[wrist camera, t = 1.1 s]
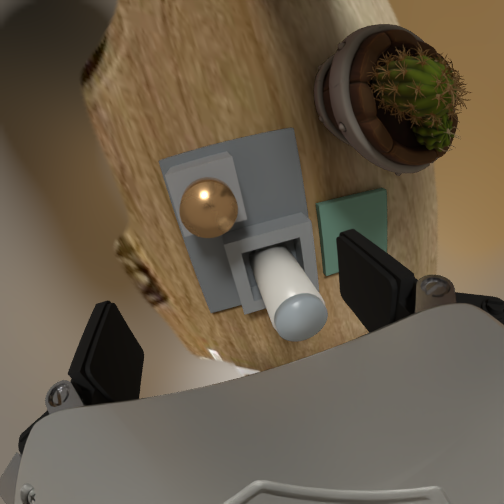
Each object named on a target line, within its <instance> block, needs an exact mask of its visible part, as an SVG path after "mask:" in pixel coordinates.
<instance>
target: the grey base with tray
mask: <svg viewBox="0 0 504 504" xmlns="http://www.w3.org/2000/svg"><path fill="white" fill-rule="evenodd" d="M159 164H160V167H161V170H162V174H163V177H164V180H165V184H166V187H167V190H168V193H169V197H170V200H171V203H172V206H173V209H174V212H175V215H176V218H177V221H178V224H179V227H180V230H181V233H182V236H183V239H184V242H185V245H186V248H187V251H188V253H189V256H190V259H191V262H192V265H193V267H194V270H195V273H196V276H197V278H198V281H199V284H200V286H201V289H202V292H203V294H204V297H205V299H206V302H207V305H208V307H209V310H210V312H211V313H213V312H217V311H221V310H224V309H228V308H232V307H235V306H239V305H242V308H243V311H244V314H248V313H252V312H255V311H258V310H262V309H265V308H266V306H265V303H264V301H263V298H262V296H261V293H260V290H259V288H258V285H257V282H256V280H255V277H254V274H253V272H252V269H251V266H250V262H249V258H250V254H251V252H252V250H255V249H259V248H263V247H266V246H270V245H273V244H277V243H281V242H283V243H284V244H285V245H286V246H287V247H288V249H289V250H290V252H291V253H292V255H293V256H294V257H295V259H296V260H297V262H298V263H299V265H300V266H301V268H302V269H303V270H304V272H305V273H306V275H307V276H308V278H309V279H310V281H311V282H312V284H313V285H314V287H315V288H316V289H317V291H318V292H319V285H318V275H317V266H316V257H315V248H314V240H313V232H312V224H311V220H310V219H309V218H308V211H307V204H306V197H305V191H304V185H303V178H302V172H301V166H300V161H299V155H298V149H297V144H296V139H295V133H294V128H286V129H280V130H275V131H270V132H265V133H260V134H255V135H250V136H246V137H241V138H237V139H233V140H229V141H225V142H221V143H217V144H213V145H209V146H205V147H202V148H198V149H195V150H191V151H188V152H184V153H181V154H178V155H174V156H171V157H168V158H165V159H162V160H160V161H159ZM204 177H212V178H217V179H219V180H221V181H223V182H225V183H226V184H227V185H228V186H229V187H230V189H231V190H232V192H233V194H234V196H235V198H236V201H237V205H238V214H237V218H236V221H235V223H234V224H233V226H232V227H231V228H230V229H229V230H228V231H227V232H226V233H224V234H222V235H220V236H218V237H214V238H202V237H198V236H196V235H194V234H192V233H191V232H189V231H188V230H187V229H186V228H185V226H184V225H183V223H182V221H181V218H180V213H179V208H180V203H181V198H182V195H183V193H184V191H185V189H186V188H187V187H188V185H190V184H191V183H192V182H193V181H195V180H197V179H200V178H204Z"/></svg>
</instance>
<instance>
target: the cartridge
mask: <svg viewBox="0 0 504 504" xmlns="http://www.w3.org/2000/svg"><path fill="white" fill-rule="evenodd" d="M249 262H250V266H251V269H252V272H253V274H254V277H255V280H256V282H257V285H258V288H259V290H260V293H261V296H262V298H263V301H264V303H265V306H266V309H267V311H268V314H269V317H270V319H271V322H272V325H273V327H274V328H275V330H276V331H277V332H278V333H279V335H280V336H281V337H282V338H283V339H285V340H288V341H302V340H306V339H308V338H310V337H312V336H314V335H315V334H317V333H318V332H319V331H320V330H321V329H322V328H323V326H324V325H325V323H326V320H327V316H328V313H327V309H326V307H325V302H324V300H323V298H322V297H321V295H320V294H319V292H318V291H317V289H316V288H315V287H314V285H313V284H312V282H311V281H310V279H309V278H308V276H307V275H306V273H305V272H304V270H303V269H302V268H301V266H300V265H299V263H298V262H297V260H296V259H295V257H294V256H293V255H292V253H291V252H290V250H289V249H288V247H287V246H286V245H285V244H284V243H283V242H281V243H277V244H273V245H270V246H266V247H263V248H259V249H255V250H252V252H251V254H250V258H249Z"/></svg>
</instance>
